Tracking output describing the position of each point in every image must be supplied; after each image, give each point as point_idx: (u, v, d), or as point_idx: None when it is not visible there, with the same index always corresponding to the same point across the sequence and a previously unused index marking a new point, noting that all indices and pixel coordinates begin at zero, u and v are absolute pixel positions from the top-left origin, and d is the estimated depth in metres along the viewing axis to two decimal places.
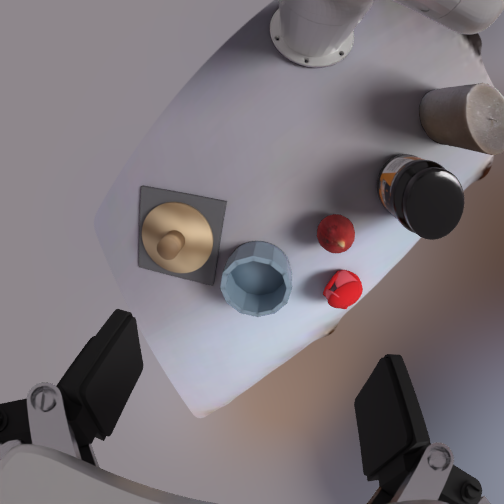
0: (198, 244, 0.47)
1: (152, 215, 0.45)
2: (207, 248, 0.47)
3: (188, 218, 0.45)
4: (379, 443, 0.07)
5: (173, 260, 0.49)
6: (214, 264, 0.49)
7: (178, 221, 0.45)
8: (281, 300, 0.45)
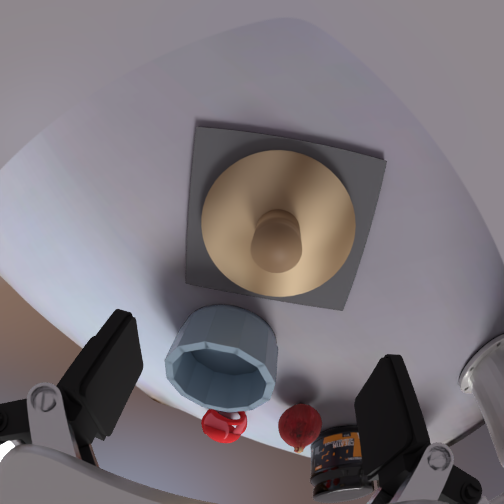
0: (271, 274, 0.25)
1: (332, 185, 0.21)
2: (265, 288, 0.26)
3: (323, 259, 0.24)
4: (379, 443, 0.07)
5: (229, 221, 0.23)
6: (229, 289, 0.27)
7: (318, 240, 0.23)
8: (203, 399, 0.28)
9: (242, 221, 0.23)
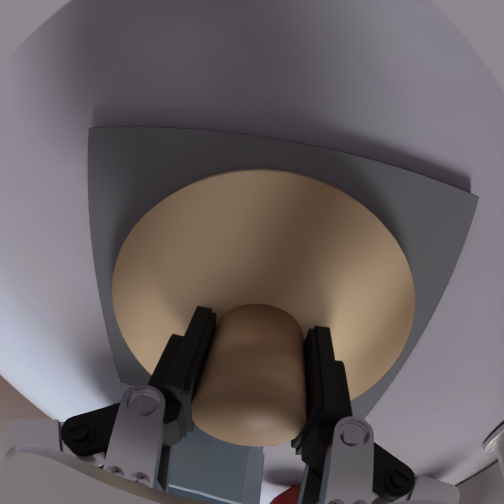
0: None
1: (381, 254, 0.09)
2: None
3: None
4: None
5: (162, 319, 0.11)
6: None
7: (338, 354, 0.11)
8: None
9: (185, 321, 0.11)
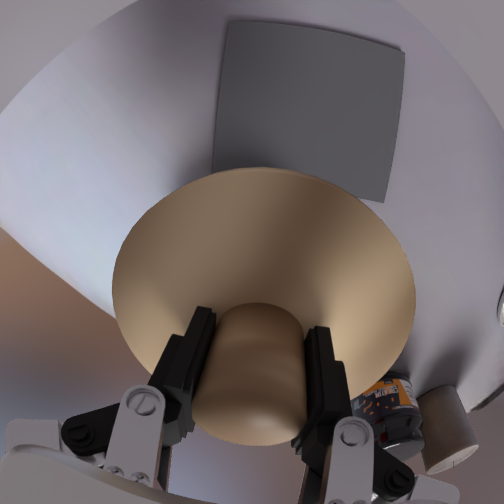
0: None
1: (382, 252, 0.09)
2: None
3: None
4: None
5: (162, 318, 0.11)
6: None
7: (338, 353, 0.11)
8: None
9: (185, 320, 0.11)
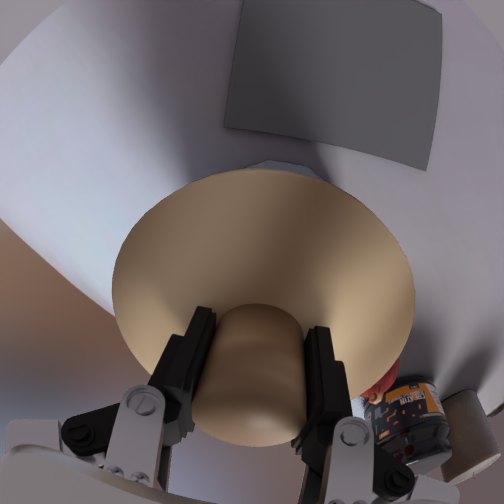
0: None
1: (381, 254, 0.09)
2: None
3: None
4: None
5: (162, 319, 0.11)
6: (285, 131, 0.19)
7: (338, 354, 0.11)
8: None
9: (185, 321, 0.11)
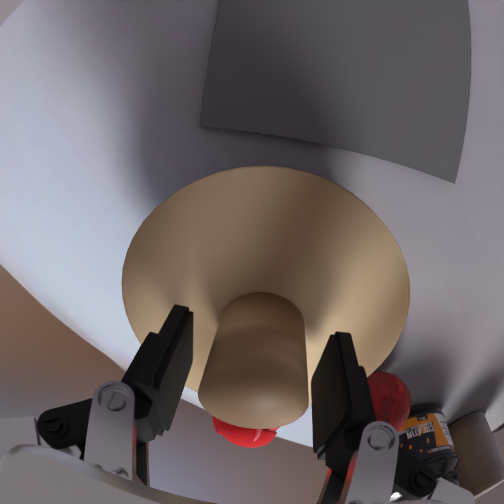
0: None
1: (377, 245, 0.10)
2: None
3: None
4: (325, 419, 0.08)
5: (170, 308, 0.12)
6: (280, 131, 0.14)
7: None
8: None
9: (192, 310, 0.12)
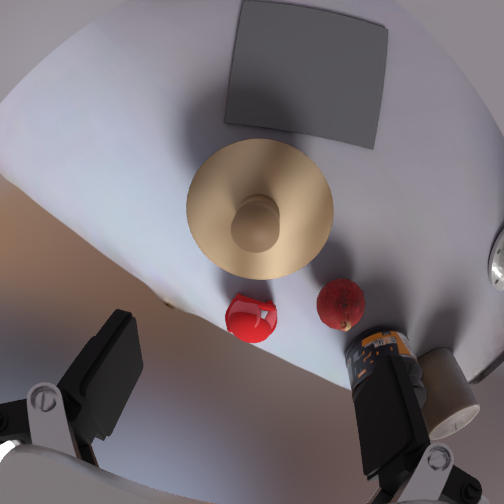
0: (253, 257, 0.26)
1: (309, 170, 0.22)
2: (248, 271, 0.27)
3: (303, 242, 0.25)
4: (379, 443, 0.07)
5: (212, 207, 0.24)
6: (267, 125, 0.27)
7: (297, 223, 0.24)
8: None
9: (224, 206, 0.24)
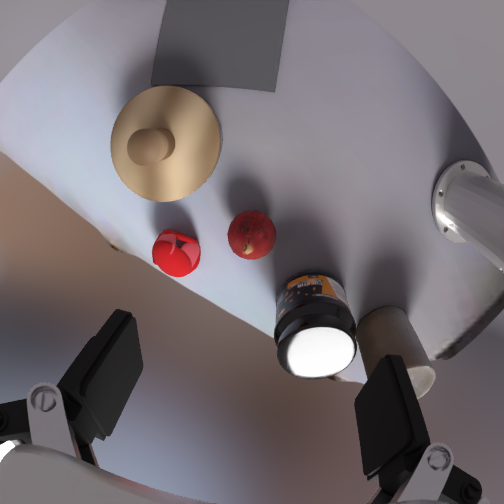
0: (158, 181, 0.29)
1: (196, 103, 0.25)
2: (155, 195, 0.30)
3: (196, 164, 0.28)
4: (379, 443, 0.07)
5: (127, 142, 0.27)
6: (182, 82, 0.30)
7: (190, 148, 0.27)
8: None
9: None
